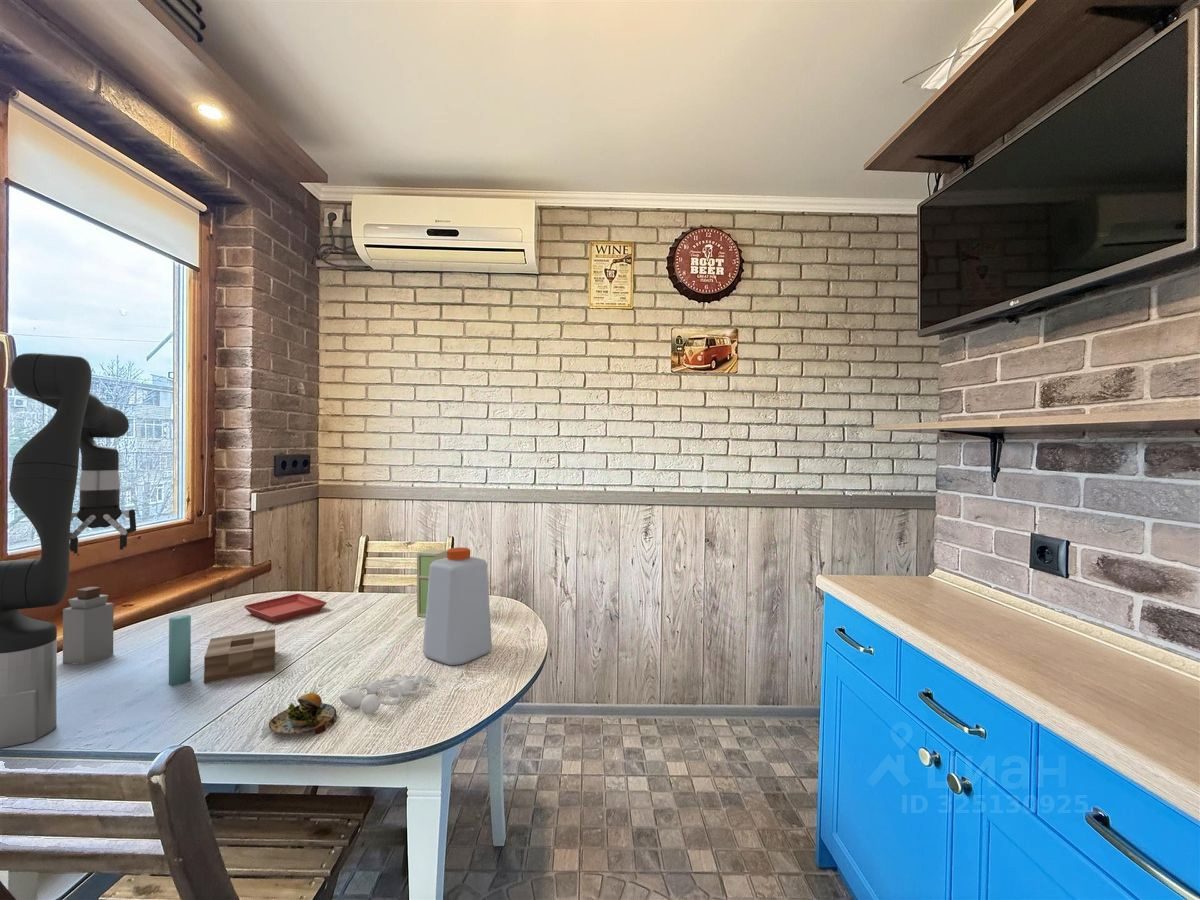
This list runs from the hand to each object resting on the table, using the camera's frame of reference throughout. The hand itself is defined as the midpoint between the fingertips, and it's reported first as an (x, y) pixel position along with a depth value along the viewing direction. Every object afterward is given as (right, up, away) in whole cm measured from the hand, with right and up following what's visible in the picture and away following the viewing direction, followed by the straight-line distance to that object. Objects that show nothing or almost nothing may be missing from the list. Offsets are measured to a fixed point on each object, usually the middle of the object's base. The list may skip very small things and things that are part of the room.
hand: (99, 551), depth 137 cm
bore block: (+39, -28, -4) cm, 48 cm away
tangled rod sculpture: (+81, -29, -18) cm, 88 cm away
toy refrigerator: (+73, -28, +38) cm, 88 cm away
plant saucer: (+25, -28, +39) cm, 54 cm away
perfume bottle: (-3, -28, 0) cm, 28 cm away
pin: (+30, -28, -12) cm, 43 cm away
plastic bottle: (+90, -29, +6) cm, 95 cm away
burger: (+70, -29, -31) cm, 81 cm away
